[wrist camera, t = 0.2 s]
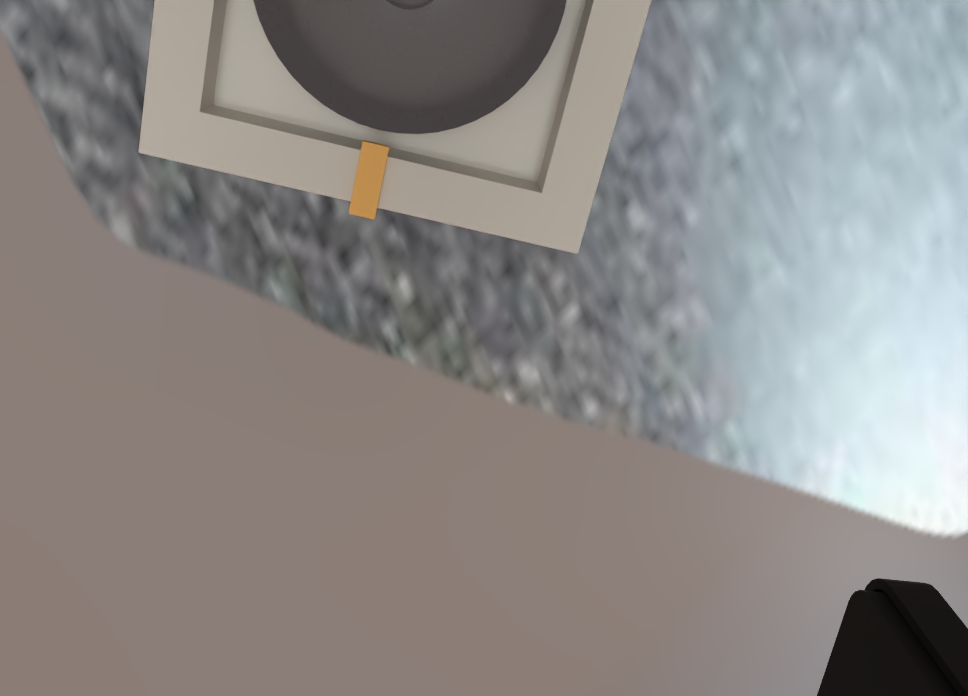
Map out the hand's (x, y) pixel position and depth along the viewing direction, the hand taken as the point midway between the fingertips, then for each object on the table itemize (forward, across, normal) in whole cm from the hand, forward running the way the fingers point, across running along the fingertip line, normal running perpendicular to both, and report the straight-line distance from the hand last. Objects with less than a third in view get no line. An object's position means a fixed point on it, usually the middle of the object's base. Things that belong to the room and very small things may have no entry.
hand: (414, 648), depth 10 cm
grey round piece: (+29, +2, -7) cm, 30 cm away
